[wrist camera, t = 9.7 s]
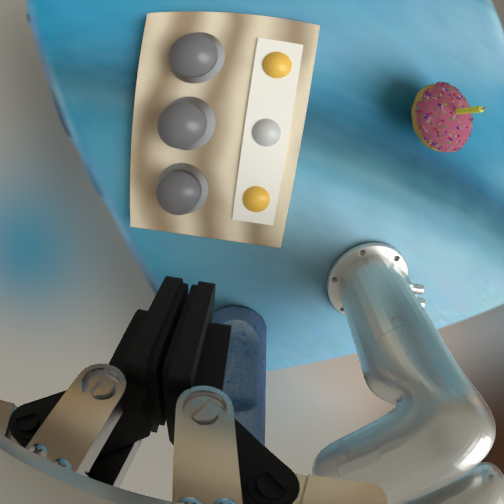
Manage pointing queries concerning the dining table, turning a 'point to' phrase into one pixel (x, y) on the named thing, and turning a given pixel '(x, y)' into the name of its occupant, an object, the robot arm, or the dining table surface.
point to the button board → (210, 121)
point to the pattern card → (266, 130)
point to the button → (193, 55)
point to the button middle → (181, 125)
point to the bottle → (246, 367)
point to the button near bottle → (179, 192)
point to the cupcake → (442, 117)
